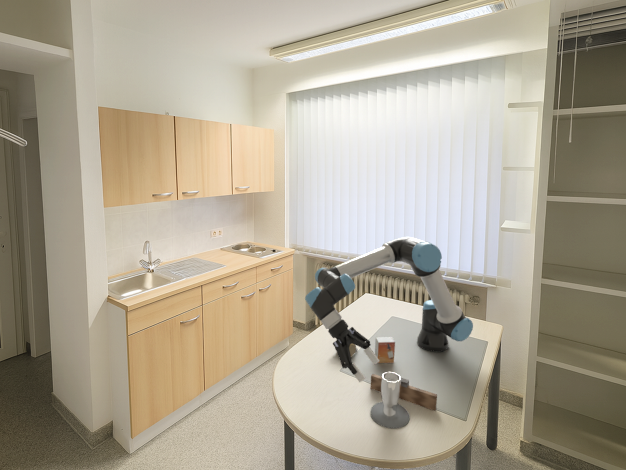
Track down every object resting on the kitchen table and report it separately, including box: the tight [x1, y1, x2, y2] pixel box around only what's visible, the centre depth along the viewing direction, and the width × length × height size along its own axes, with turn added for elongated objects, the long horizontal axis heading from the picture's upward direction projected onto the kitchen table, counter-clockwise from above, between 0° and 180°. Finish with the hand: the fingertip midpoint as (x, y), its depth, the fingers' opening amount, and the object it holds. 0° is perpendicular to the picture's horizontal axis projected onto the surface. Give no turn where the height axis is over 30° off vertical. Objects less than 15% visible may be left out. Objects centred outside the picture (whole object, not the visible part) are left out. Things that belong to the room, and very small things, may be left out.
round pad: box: [370, 401, 410, 429], centre depth 138 cm, size 14×14×1 cm
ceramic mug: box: [334, 343, 359, 357], centre depth 181 cm, size 11×8×8 cm
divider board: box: [370, 373, 438, 412], centre depth 147 cm, size 26×2×8 cm, turn 59°
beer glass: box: [380, 371, 402, 419], centre depth 136 cm, size 7×7×15 cm
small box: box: [374, 336, 396, 364], centre depth 174 cm, size 8×6×10 cm
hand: (370, 371), depth 139 cm, fingers open, 13 cm apart
